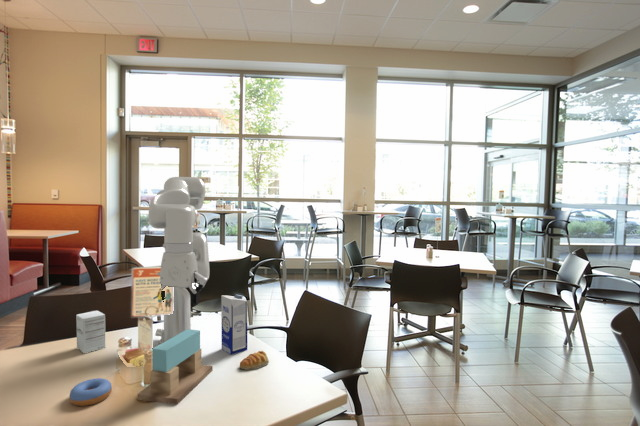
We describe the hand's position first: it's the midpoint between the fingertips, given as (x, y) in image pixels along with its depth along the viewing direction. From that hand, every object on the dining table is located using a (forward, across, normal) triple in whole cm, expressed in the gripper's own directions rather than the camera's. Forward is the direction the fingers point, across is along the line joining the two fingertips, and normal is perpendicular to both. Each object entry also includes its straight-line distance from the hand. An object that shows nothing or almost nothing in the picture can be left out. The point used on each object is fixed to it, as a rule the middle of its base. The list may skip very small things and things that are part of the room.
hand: (180, 304), depth 114 cm
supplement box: (+24, -44, +13) cm, 52 cm away
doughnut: (+24, -18, -15) cm, 33 cm away
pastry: (+24, +19, +14) cm, 33 cm away
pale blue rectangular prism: (+16, +1, -3) cm, 16 cm away
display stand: (+23, +1, -3) cm, 23 cm away
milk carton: (+24, +7, +24) cm, 34 cm away
